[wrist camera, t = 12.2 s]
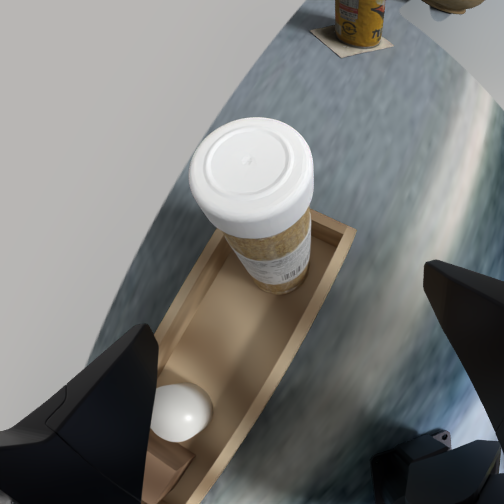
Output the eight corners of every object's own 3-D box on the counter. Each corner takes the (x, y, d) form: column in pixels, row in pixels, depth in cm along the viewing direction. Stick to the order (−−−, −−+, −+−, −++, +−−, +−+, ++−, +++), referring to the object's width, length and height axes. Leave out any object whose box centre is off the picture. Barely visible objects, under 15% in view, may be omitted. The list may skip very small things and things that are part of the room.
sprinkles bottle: (290, 226, 24) (272, 96, 11) (321, 277, 22) (340, 176, 10) (238, 255, 24) (168, 148, 11) (266, 308, 22) (216, 244, 10)
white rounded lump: (218, 431, 20) (205, 440, 17) (168, 433, 20) (150, 442, 17) (208, 379, 21) (194, 382, 18) (159, 384, 22) (140, 387, 19)
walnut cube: (173, 488, 19) (152, 506, 15) (133, 459, 20) (107, 472, 16) (196, 455, 19) (176, 471, 16) (153, 425, 21) (127, 435, 17)
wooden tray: (188, 518, 18) (172, 536, 15) (107, 460, 21) (83, 469, 17) (350, 247, 23) (357, 230, 20) (253, 203, 26) (245, 181, 23)
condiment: (394, 46, 30) (404, -30, 19) (341, 59, 30) (342, -28, 19) (360, 21, 33) (362, -49, 22) (309, 32, 33) (303, -45, 22)
